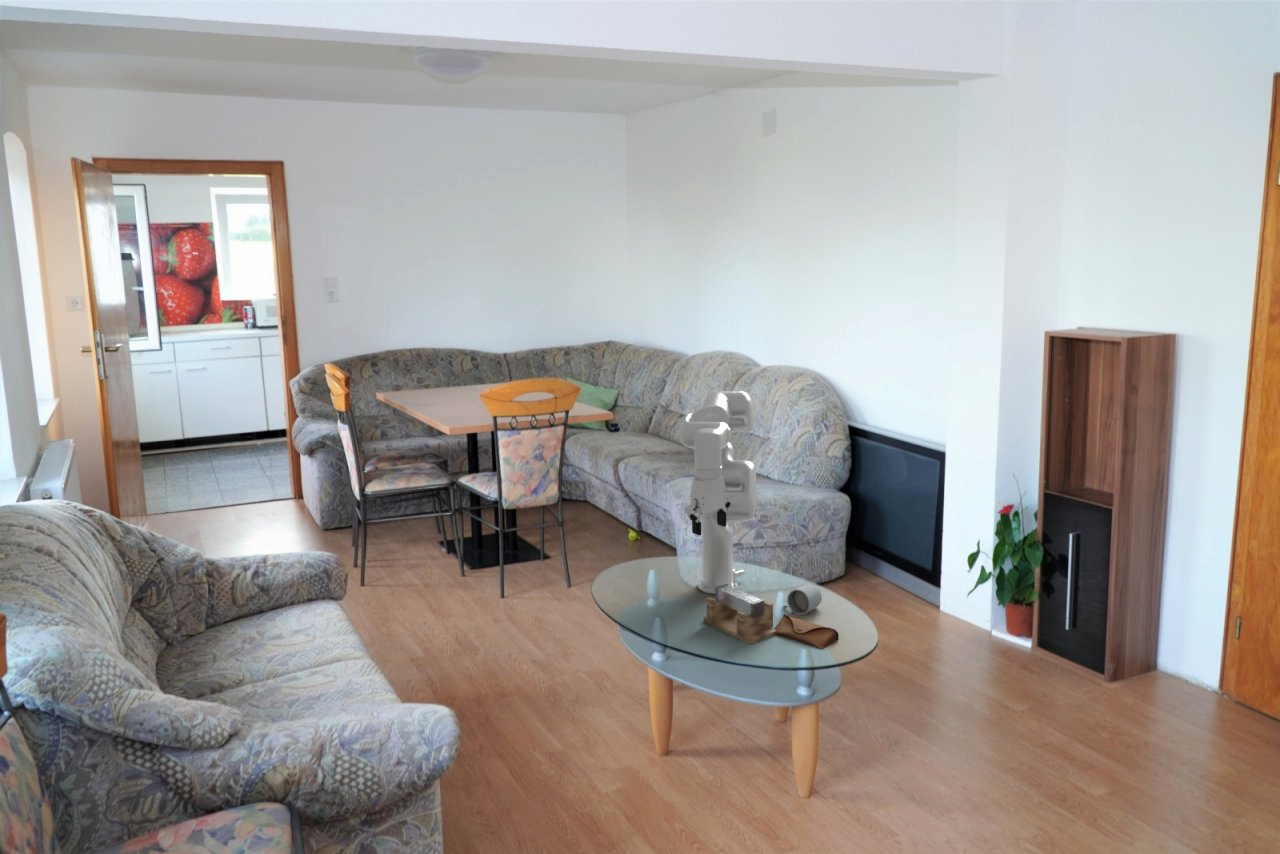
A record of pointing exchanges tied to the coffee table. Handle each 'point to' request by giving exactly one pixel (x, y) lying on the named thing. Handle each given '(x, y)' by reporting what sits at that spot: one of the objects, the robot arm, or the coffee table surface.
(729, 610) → the rack
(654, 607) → the coffee table surface
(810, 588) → the ceramic mug
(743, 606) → the rail
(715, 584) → the robot arm
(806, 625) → the sunglasses case
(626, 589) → the coffee table surface
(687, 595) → the coffee table surface
